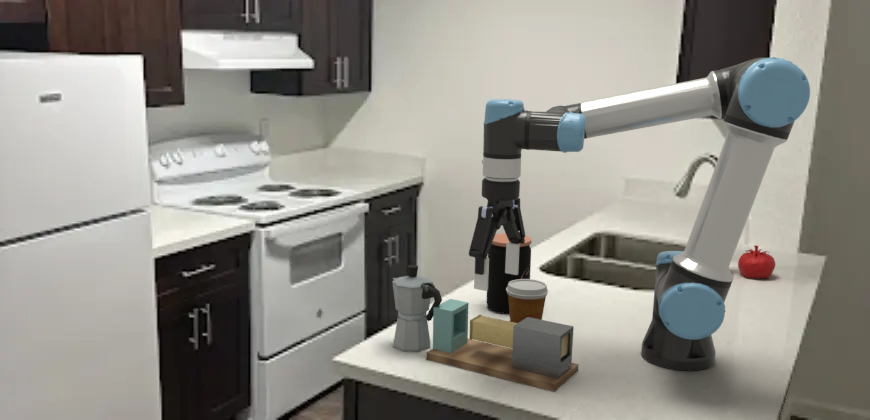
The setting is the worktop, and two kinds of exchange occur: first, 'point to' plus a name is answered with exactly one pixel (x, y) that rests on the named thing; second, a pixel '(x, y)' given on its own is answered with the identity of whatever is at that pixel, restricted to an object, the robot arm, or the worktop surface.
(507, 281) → the coffee jar
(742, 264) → the pomegranate
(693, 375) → the worktop surface
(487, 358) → the board
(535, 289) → the disposable coffee cup
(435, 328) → the socket
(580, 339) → the worktop surface
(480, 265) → the robot arm
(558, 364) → the sleeve
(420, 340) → the coffee maker
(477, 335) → the wooden crossbeam
